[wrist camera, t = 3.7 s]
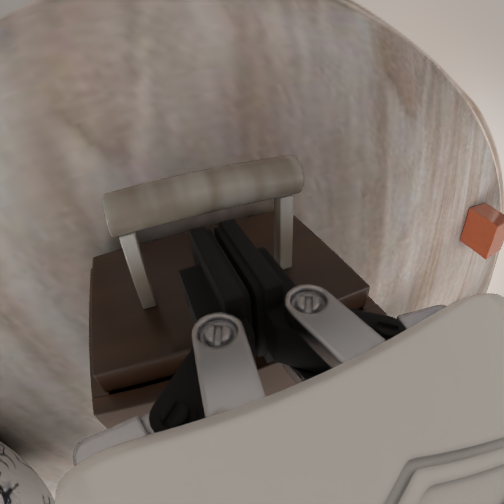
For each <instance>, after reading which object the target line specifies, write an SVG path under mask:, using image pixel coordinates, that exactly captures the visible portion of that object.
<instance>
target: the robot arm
mask: <svg viewBox="0 0 504 504" xmlns="http://www.w3.org/2000/svg"><path fill="white" fill-rule="evenodd" d="M214 234H215V235H214ZM214 234H213V232H212V230H211V229H207V230H206V229H205V227H199V228H195V229H191V230H189V237H190V242H191V247H192V253H193V258H194V263H195V266H192V267H188V268H184V269H181V270H178V272H179V276H180V281H181V285H182V289H183V292H184V296H185V299H186V302H187V306H188V309H189V311H190V314H191V317H192V320H193V322H194V327H193V329H192V341H193V348H192V349H191V351H190V352H189V354H188V355H187V357H186V358H185V359H184V361H183V362H182V364H181V365H180V367H179V368H178V370H177V371H176V373H175V374H174V375H173V377H172V378H171V380H170V381H169V383H168V384H167V386H166V387H165V389H164V390H163V391H162V393H161V394H160V396H159V397H158V399H157V400H156V402H155V403H154V404H153V406H152V408H151V410H150V413H148V414H146V415H144V416H142V417H139V416H138V415H136V416H134V417H132V418H130V419H128V420H126V421H124V422H122V423H119V424H117V425H115V426H113V427H111V428H109V429H106V430H104V431H102V432H100V433H97V434H95V435H93V436H91V437H88V438H86V439H84V440H82V441H81V442H80V443H78V445H77V446H76V448H75V449H74V454H73V460H74V465H75V466H74V467H73V468H72V469H71V470H70V471H69V472H68V473H66V474H65V476H64V477H63V478H62V479H61V481H60V482H59V484H58V487H57V490H56V494H55V504H504V297H502V296H501V295H498V294H478V295H473V296H470V297H466V298H463V299H461V300H458V301H456V302H454V303H452V304H450V305H448V306H444V305H436V306H432V307H429V308H425V309H422V310H418V311H414V312H410V313H407V314H403V315H399V316H398V317H397V319H395V318H393V317H390V316H386V315H381V314H376V313H371V312H366V311H361V310H357V309H352V308H347V307H346V306H345V305H343V304H342V303H341V302H340V301H339V300H337V299H336V298H335V297H334V296H333V295H331V294H330V293H329V292H328V291H327V290H325V289H323V288H322V287H319V286H316V285H310V284H305V285H299V286H296V285H295V284H294V282H293V281H292V280H291V279H290V277H289V276H288V275H287V274H286V273H285V271H284V270H283V269H282V268H281V266H280V265H279V264H278V263H277V262H276V260H275V259H274V258H273V257H272V255H271V254H270V253H269V252H268V251H267V249H266V248H264V247H261V248H256V247H255V245H254V244H253V243H252V242H251V240H250V239H249V238H248V236H247V235H246V234H245V233H244V231H243V230H242V229H241V227H240V226H239V225H238V224H237V222H236V221H235V220H234V219H232V220H227V221H223V222H219V224H218V227H215V228H214ZM256 354H257V356H258V357H260V356H264V358H265V360H266V362H267V363H269V362H272V361H275V362H278V363H282V364H283V367H284V369H285V371H286V372H287V373H288V375H289V376H290V377H291V378H292V379H293V380H294V381H295V383H296V385H294V386H291V387H289V388H286V389H284V390H281V391H279V392H277V393H274V394H272V395H269V396H266V395H265V392H264V389H263V386H262V383H261V380H260V377H259V374H258V371H257V364H256Z"/></svg>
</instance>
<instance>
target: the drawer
mask: <svg viewBox="0 0 504 504" xmlns="http://www.w3.org/2000/svg"><path fill="white" fill-rule="evenodd" d="M303 186H304V172H303V168H302V165H301V163H300V161H299V160H298V158H297V157H295V156H293V155H287V156H280V157H274V158H267V159H261V160H255V161H249V162H243V163H238V164H232V165H227V166H222V167H216V168H211V169H206V170H201V171H197V172H192V173H187V174H183V175H178V176H174V177H169V178H165V179H161V180H156V181H152V182H148V183H144V184H140V185H136V186H132V187H128V188H124V189H121V190H117V191H113V192H110V193H106V194H104V195H103V198H102V202H103V210H104V215H105V219H106V223H107V226H108V229H109V232H110V234H111V236H112V237H116V236H119V239H120V243H121V246H122V250H118V251H114V252H111V253H107V254H104V255H100V256H97V257H94V258H93V269H92V289H91V354H92V373H93V377H94V378H95V379H96V381H97V382H98V383H99V385H100V386H101V387H102V389H103V390H104V391H105V392H108V391H112V390H116V389H121V388H125V387H129V386H130V390H133V389H137V388H141V387H145V386H149V385H152V384H156V383H160V382H164V381H167V380H171V378H172V377H173V375H174V374H175V373H176V371H177V370H178V368H179V367H180V365H181V364H182V362H183V361H184V359H185V358H186V357H187V355H188V354H189V352H190V351H191V349H192V348H193V341H192V329H193V327H194V322H193V320H192V317H191V314H190V311H189V309H188V306H187V302H186V299H185V296H184V292H183V289H182V285H181V281H180V276H179V272H178V270H181V269H184V268H188V267H192V266H195V263H194V258H193V253H192V247H191V242H190V237H189V232H186V233H182V234H178V235H174V236H170V237H167V238H163V239H159V240H155V241H151V242H148V243H144V244H140V245H139V242H138V238H137V235H136V231H138V230H142V229H146V228H150V227H154V226H158V225H161V224H165V223H169V222H173V221H177V220H181V219H185V218H189V217H194V216H198V215H202V214H206V213H210V212H214V211H219V210H223V209H227V208H232V207H236V206H241V205H245V204H250V203H254V202H259V201H263V200H268V199H273V198H274V211H273V212H269V213H264V214H260V215H256V216H251V217H247V218H243V219H239V220H235V221H236V222H237V224H238V225H239V226H240V227H241V229H242V230H243V231H244V233H245V234H246V235H247V236H248V238H249V239H250V240H251V242H252V243H253V244H254V245H255V247H256V248H261V247H264V248H266V249H267V251H268V252H269V253H270V254H271V255H272V257H273V258H274V259H275V260H276V262H277V263H278V264H279V265H280V266H281V268H282V269H283V270H284V271H285V273H286V274H287V275H288V276H289V277H290V279H291V280H292V281H293V282H294V284H295V285H296V286H299V285H305V284H310V285H316V286H319V287H322V288H323V289H325V290H327V291H328V292H329V293H330V294H331V295H333V296H334V297H335V298H336V299H337V300H339V301H340V302H341V303H342V304H343V305H345V306H346V307H347V308H352V309H359V308H361V307H364V306H365V304H366V300H367V296H368V292H369V288H370V286H369V285H368V284H367V283H366V282H365V281H364V280H363V279H362V278H361V277H360V276H359V275H358V274H357V273H356V272H355V271H354V270H353V269H351V268H350V267H349V266H348V265H347V264H346V263H345V262H344V261H343V260H342V259H341V258H340V257H339V256H338V255H337V254H336V253H335V252H334V251H332V250H331V249H330V248H329V247H328V246H327V245H326V244H325V243H324V242H323V241H322V240H321V239H320V238H318V237H317V236H316V235H315V234H314V233H313V232H312V231H311V230H310V229H309V228H307V227H306V226H305V225H304V224H303V223H302V222H301V221H300V220H299V219H298V218H296V217H295V216H294V215H293V195H292V194H297V193H299V192H301V191H302V189H303ZM215 227H218V225H214V226H210V227H206V228H205V229H206V230H207V229H211V230H212V232H213V234H214V228H215ZM214 235H215V234H214Z"/></svg>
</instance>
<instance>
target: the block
mask: <svg viewBox="0 0 504 504" xmlns="http://www.w3.org/2000/svg"><path fill="white" fill-rule="evenodd" d="M460 241H462V242H463V243H464V244H466V245H467V246H469V247H470V248H471V249H473V250H474V251H475V252H477V253H478V254H479V255H481V256H482V257H483V258H485V259H487V258H489V257H490V256H492V255H493V254H495V253H496V252H498V251H499V250H500V249H501V247H502V244H503V241H504V214H502V213H501V212H499V211H498V210H496V209H494V208H493V207H491V206H490V205H488V204H486V203H482V204H480V205H477V206H474V207H471V208H469V212H468V215H467V219H466V222H465V225H464V229H463V232H462V235H461V238H460Z"/></svg>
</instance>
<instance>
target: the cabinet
mask: <svg viewBox="0 0 504 504" xmlns="http://www.w3.org/2000/svg"><path fill="white" fill-rule="evenodd" d="M92 269H93V268H92ZM92 269H91V278H90V302H89V351H90V374H91V389H92V398H93V399H92V402H93V412H94V416H95V417H96V418H97V419H98V420H99V421H100V422H101V423H102V424H103V425H104V426H105V427H106V428H107V429H109V428H111V427H113V426H115V425H117V424H119V423H122V422H124V421H126V420H128V419H130V418H132V417H134V416H136V415H138V416H139V417H142V416H144V415H146V414H148V413H150V410H151V408H152V406H153V404H154V403H155V402H156V400H157V399H158V397H159V396H160V394H161V393H162V391H163V390H164V389H165V387H166V386H167V384H168V383H169V381H170V380H167V381H164V382H160V383H156V384H152V385H149V386H145V387H141V388H137V389H133V390H130V386H129V387H125V388H121V389H116V390H112V391H108V392H105V391H104V390H103V389H102V387H101V386H100V385H99V383H98V382H97V381H96V379H95V378H94V377H93V373H92V354H91V289H92ZM357 310H361V311H366V312H371V313H376V314H381V315H386V316H387V314H386V313H385V312H384V311H383V310H382V309H381V308H380V307H379V306H378V305H377V304H375V302H374V301H373V300H372V299H371V298H370V297H369V296H367V300H366V304H365V306H364V307H361V308H359V309H357ZM256 364H257V371H258V374H259V377H260V380H261V383H262V386H263V389H264V392H265V395H266V396H269V395H272V394H274V393H277V392H279V391H281V390H284V389H286V388H289V387H291V386H294V385H296V383H295V381H294V380H293V379H292V378H291V377H290V376H289V375H288V373H287V372H286V371H285V369H284V367H283V364H282V363H278V362H275V361H272V362H269V363H267V362H266V360H265V358H264V356H260V357H258V356H257V354H256Z"/></svg>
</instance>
